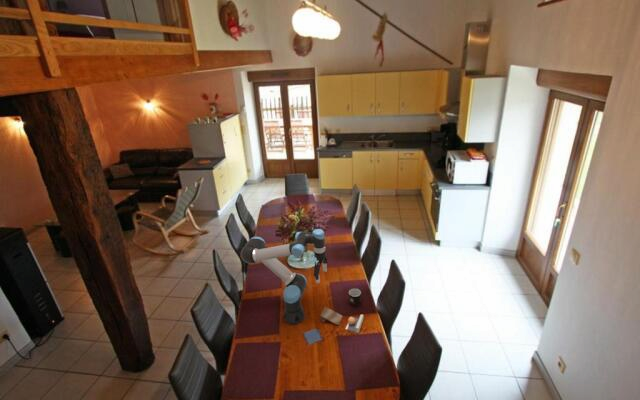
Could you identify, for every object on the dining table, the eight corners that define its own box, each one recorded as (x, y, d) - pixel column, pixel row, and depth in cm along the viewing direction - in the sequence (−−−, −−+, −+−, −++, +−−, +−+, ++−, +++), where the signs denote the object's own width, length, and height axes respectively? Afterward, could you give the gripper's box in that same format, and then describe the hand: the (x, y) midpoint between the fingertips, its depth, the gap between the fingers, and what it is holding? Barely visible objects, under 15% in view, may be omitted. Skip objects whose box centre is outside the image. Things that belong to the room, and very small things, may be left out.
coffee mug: (347, 301, 248) (346, 290, 244) (357, 298, 251) (357, 287, 247) (354, 311, 238) (353, 300, 234) (364, 308, 241) (364, 297, 237)
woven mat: (302, 335, 222) (302, 332, 221) (317, 329, 226) (316, 327, 225) (307, 346, 213) (307, 344, 212) (323, 340, 217) (322, 338, 216)
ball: (345, 321, 226) (349, 327, 226) (351, 319, 223) (355, 325, 224) (347, 316, 230) (352, 321, 230) (353, 314, 227) (357, 320, 228)
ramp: (320, 321, 232) (320, 315, 229) (325, 312, 239) (324, 306, 237) (338, 325, 227) (338, 319, 225) (342, 316, 234) (342, 310, 232)
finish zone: (345, 329, 223) (345, 325, 222) (350, 316, 234) (350, 312, 233) (358, 333, 220) (358, 328, 218) (363, 319, 231) (363, 314, 229)
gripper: (318, 262, 214) (319, 288, 222) (331, 242, 235) (332, 267, 243) (307, 260, 216) (309, 286, 225) (321, 240, 237) (322, 265, 246)
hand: (321, 276), depth 234 cm, fingers open, 13 cm apart
